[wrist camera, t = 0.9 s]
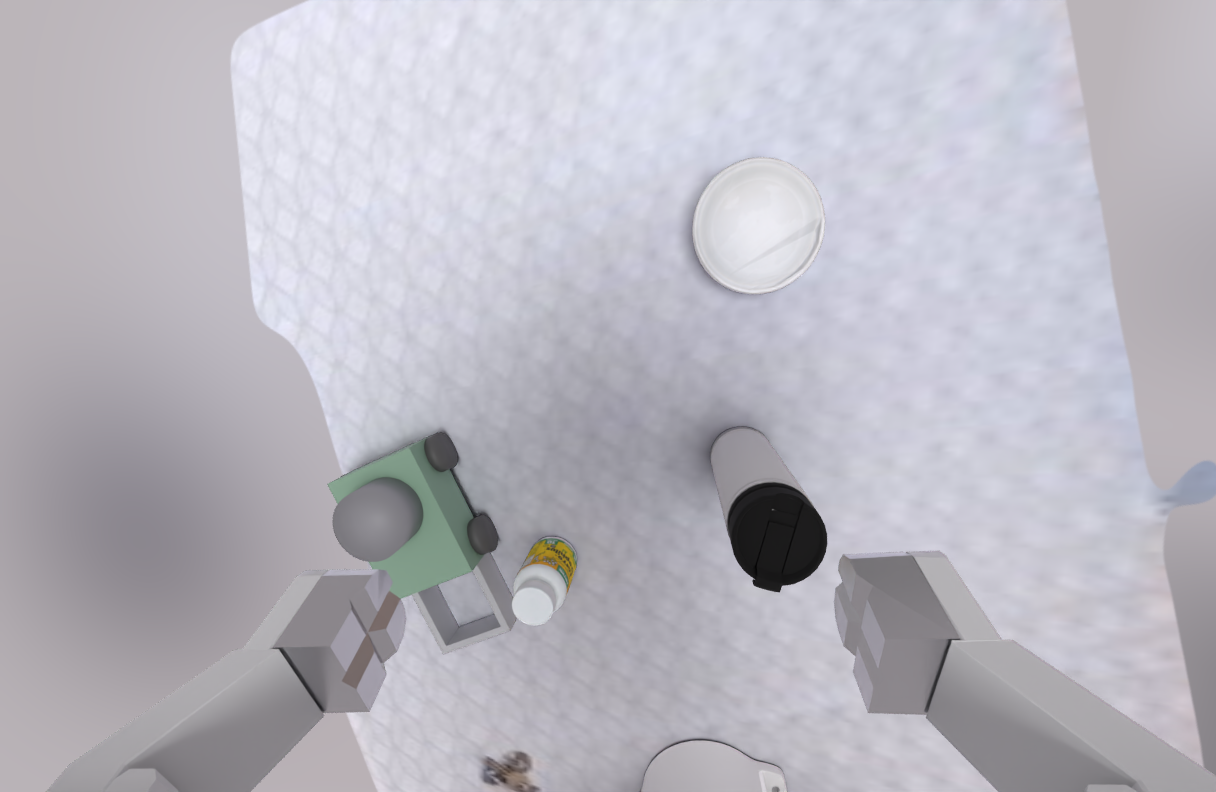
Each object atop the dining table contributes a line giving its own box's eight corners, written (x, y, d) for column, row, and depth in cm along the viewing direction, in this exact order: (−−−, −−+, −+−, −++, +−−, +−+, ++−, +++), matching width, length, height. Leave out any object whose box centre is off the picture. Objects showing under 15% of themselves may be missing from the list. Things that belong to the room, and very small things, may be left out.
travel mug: (702, 479, 54) (719, 579, 34) (718, 419, 53) (746, 488, 33) (761, 494, 53) (813, 604, 34) (779, 434, 52) (844, 512, 33)
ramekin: (772, 314, 50) (784, 315, 45) (669, 263, 51) (669, 259, 45) (833, 204, 48) (852, 192, 43) (724, 152, 48) (731, 134, 43)
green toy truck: (534, 606, 59) (506, 666, 49) (442, 639, 61) (398, 703, 51) (445, 428, 56) (398, 454, 47) (353, 470, 59) (289, 503, 49)
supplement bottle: (521, 557, 58) (492, 606, 49) (551, 525, 57) (527, 568, 48) (557, 588, 58) (535, 643, 49) (588, 557, 57) (571, 607, 48)
